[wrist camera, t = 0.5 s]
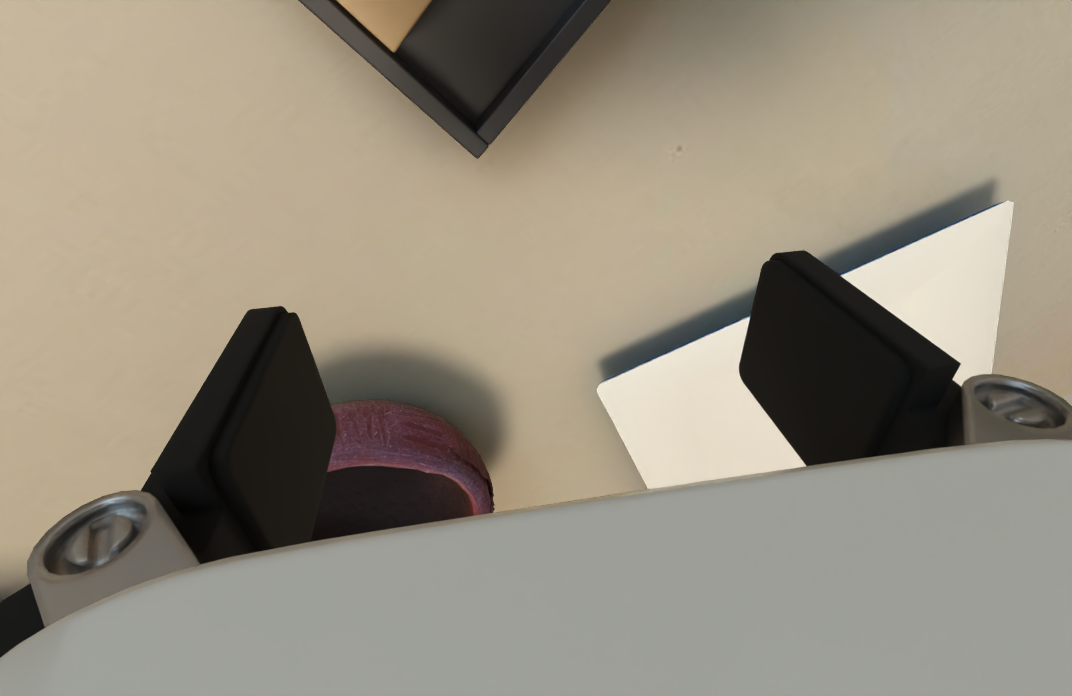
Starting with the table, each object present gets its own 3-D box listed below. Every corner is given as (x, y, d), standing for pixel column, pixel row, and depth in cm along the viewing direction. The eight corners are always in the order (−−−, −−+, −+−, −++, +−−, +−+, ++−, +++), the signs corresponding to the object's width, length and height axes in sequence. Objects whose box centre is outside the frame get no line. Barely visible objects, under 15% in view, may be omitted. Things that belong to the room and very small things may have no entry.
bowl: (358, 316, 26) (329, 428, 19) (526, 440, 32) (547, 554, 26) (177, 484, 30) (103, 621, 24) (357, 563, 37) (338, 687, 30)
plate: (586, 366, 29) (595, 389, 28) (983, 185, 27) (1019, 199, 25) (684, 554, 42) (694, 577, 41) (959, 446, 39) (982, 466, 38)
